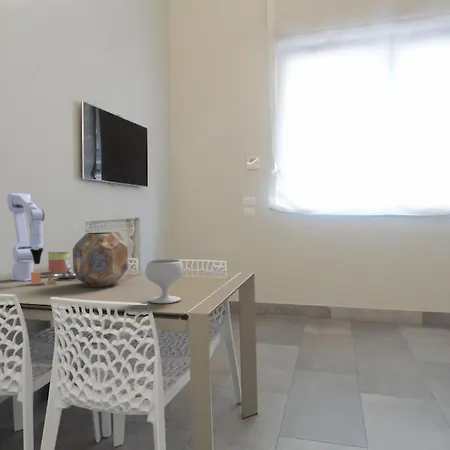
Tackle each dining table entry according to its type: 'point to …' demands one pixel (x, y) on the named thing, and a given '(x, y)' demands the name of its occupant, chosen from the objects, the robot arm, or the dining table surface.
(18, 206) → the robot arm
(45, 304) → the dining table surface
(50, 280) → the eye post
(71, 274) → the handwheel
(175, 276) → the chalice
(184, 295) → the dining table surface
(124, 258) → the planter
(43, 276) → the hook rod
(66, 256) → the canned food
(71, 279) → the wheel mount
